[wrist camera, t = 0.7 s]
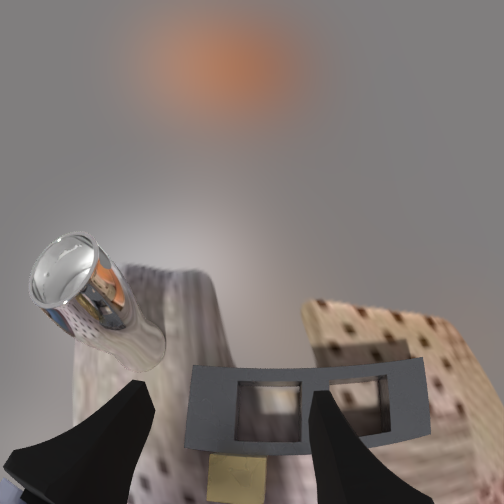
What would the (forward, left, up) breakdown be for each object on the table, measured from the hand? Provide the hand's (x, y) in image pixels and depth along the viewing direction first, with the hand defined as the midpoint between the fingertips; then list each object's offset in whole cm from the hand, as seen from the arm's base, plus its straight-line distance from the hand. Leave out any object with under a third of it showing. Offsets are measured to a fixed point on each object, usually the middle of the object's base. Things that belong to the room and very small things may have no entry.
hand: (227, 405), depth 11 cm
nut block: (-5, 0, -15) cm, 16 cm away
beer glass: (+7, +12, -15) cm, 21 cm away
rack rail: (+1, -6, -15) cm, 16 cm away
